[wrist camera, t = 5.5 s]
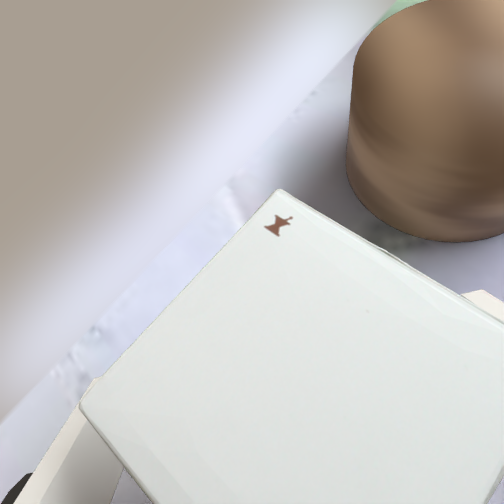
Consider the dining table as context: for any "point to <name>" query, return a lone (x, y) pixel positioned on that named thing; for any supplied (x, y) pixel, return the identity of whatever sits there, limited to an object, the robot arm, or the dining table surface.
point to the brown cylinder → (431, 120)
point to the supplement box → (308, 378)
